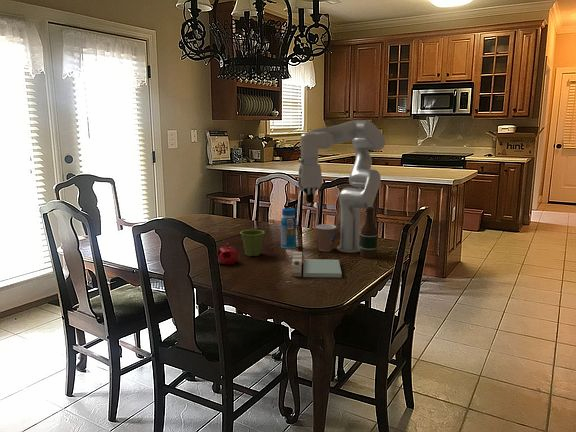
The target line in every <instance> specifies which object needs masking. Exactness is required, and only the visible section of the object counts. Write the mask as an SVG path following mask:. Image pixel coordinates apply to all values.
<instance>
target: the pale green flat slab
mask: <svg viewBox="0 0 576 432" xmlns="http://www.w3.org/2000/svg"><path fill="white" fill-rule="evenodd" d="M302 270H303V272H302V276H303V278H340V279H342V277H343V276H342V275H343V273H342V269H341V264H340V260H339V259H325V258H324V259H313V258H312V259H310V258H307V259H305V258H303V264H302Z"/></svg>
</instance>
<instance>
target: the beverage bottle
mask: <svg viewBox="0 0 576 432" xmlns="http://www.w3.org/2000/svg"><path fill="white" fill-rule="evenodd" d="M281 210H282V212H281V214H282V218H281V220H280V247H281V248H283V249H289V250H290V249H295V248H296V247H297V245H298V244H297V233H298V232H297V230H298V226H297V223H298V221H297V219H296V208H293V207H284V208H282V209H281Z"/></svg>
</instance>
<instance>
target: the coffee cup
mask: <svg viewBox="0 0 576 432" xmlns="http://www.w3.org/2000/svg"><path fill="white" fill-rule="evenodd" d="M315 228H316V235H317V244H318V250H319V251H322V252H331V251H333V249H334V245H335V244H334V243H335V236H336V229H337V226H336V225H335V224H328V223H327V224H317V225H316V226H315Z"/></svg>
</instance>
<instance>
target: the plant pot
mask: <svg viewBox="0 0 576 432" xmlns="http://www.w3.org/2000/svg"><path fill="white" fill-rule="evenodd" d="M239 233H240V235H241V239H242V243H243V248H244V254H245V255H246V256H247V257H257V256H260V255H261V253H262V252H261V251H262V246H263V245H262V244H263V238H264V234H265V231H264V230H261V229H245V230H241V231H240V232H239Z"/></svg>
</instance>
